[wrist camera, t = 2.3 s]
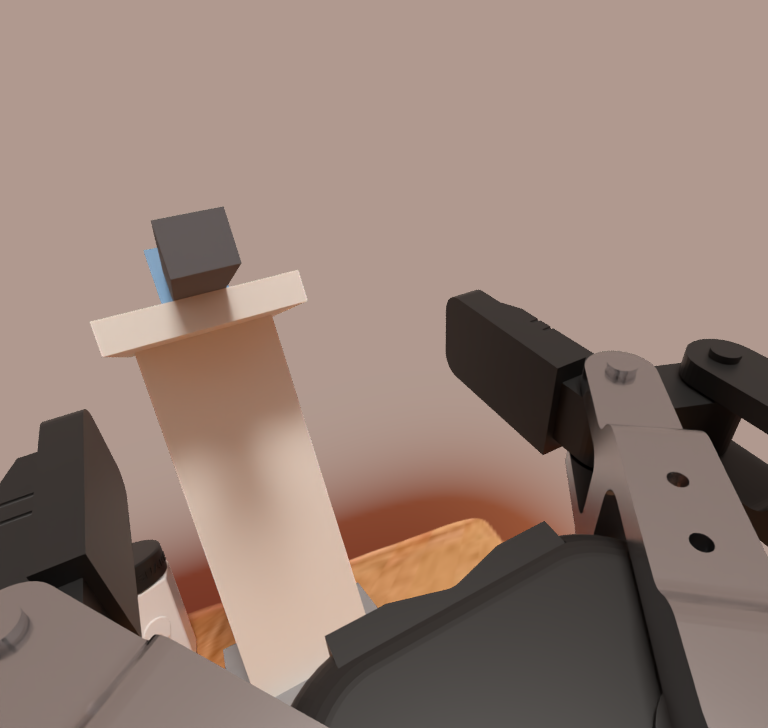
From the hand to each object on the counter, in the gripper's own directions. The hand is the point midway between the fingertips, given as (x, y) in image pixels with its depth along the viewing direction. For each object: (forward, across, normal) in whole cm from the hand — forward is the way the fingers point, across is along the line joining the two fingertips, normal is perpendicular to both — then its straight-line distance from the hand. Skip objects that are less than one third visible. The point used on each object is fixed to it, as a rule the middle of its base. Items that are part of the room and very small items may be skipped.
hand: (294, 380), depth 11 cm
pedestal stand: (+11, 0, +38) cm, 40 cm away
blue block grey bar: (+20, 0, +7) cm, 21 cm away
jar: (+23, +14, +46) cm, 53 cm away
